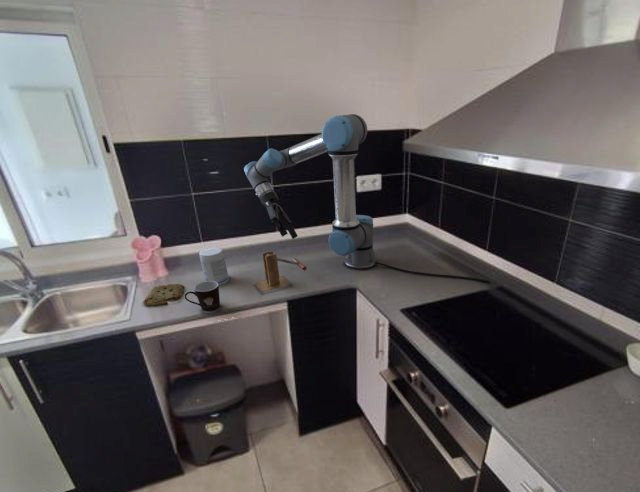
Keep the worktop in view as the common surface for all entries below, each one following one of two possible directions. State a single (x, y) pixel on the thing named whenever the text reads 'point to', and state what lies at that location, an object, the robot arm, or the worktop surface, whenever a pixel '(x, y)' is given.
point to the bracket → (271, 273)
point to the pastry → (164, 294)
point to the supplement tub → (214, 265)
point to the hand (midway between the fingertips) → (290, 236)
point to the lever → (291, 262)
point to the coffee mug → (207, 295)
